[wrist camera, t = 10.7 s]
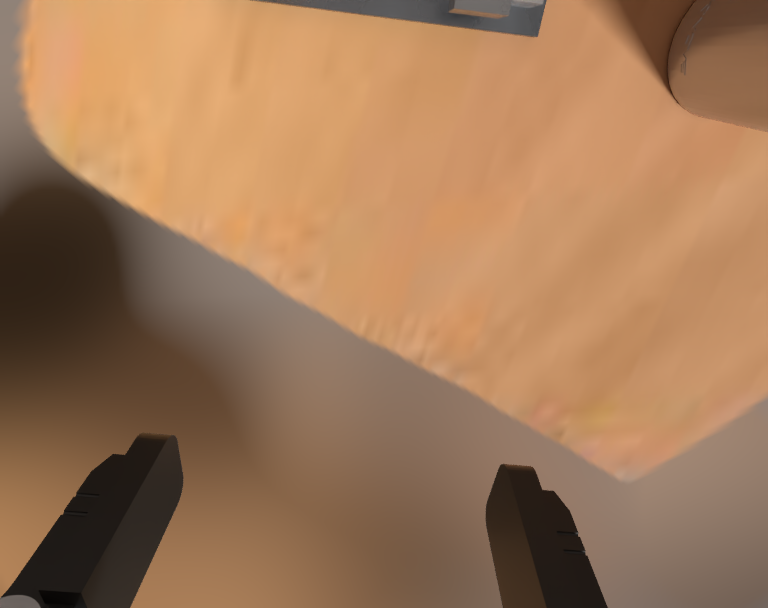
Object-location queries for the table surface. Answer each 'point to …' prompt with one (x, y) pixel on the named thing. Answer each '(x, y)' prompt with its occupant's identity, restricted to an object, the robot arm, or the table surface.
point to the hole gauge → (443, 12)
